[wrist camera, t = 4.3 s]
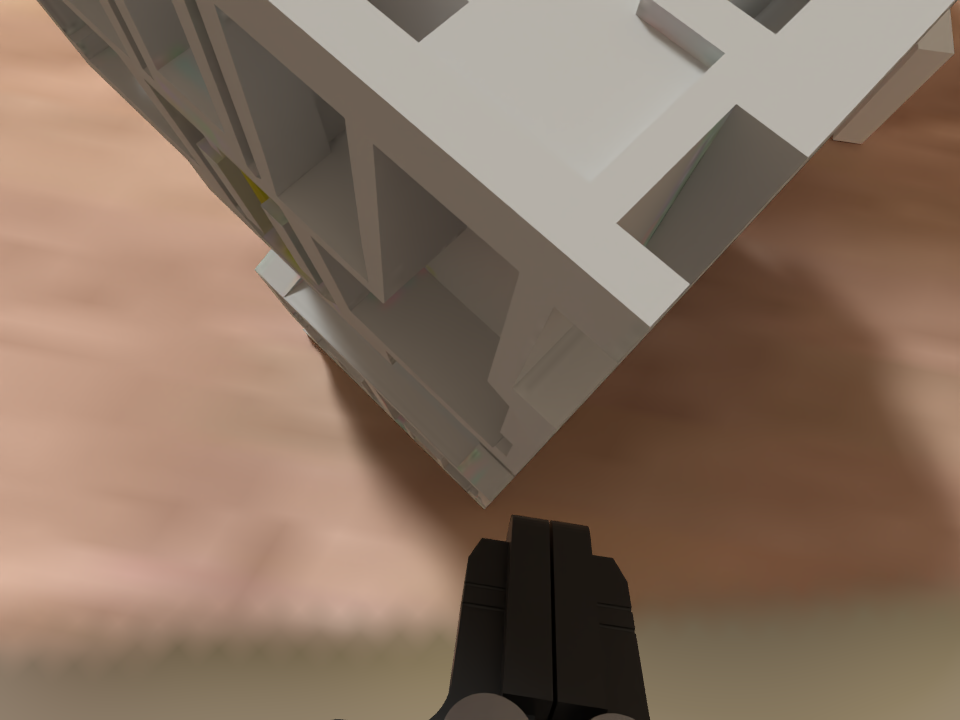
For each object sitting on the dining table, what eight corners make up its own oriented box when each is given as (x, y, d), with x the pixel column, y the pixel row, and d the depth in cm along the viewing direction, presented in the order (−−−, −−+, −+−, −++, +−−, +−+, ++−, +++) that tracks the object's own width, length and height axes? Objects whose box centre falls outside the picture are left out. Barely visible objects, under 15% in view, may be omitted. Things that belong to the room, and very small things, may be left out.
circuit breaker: (779, 192, 20) (1631, -727, 5) (484, 509, 17) (604, 375, 2) (608, 62, 21) (919, -957, 7) (306, 333, 18) (-343, -466, 4)
